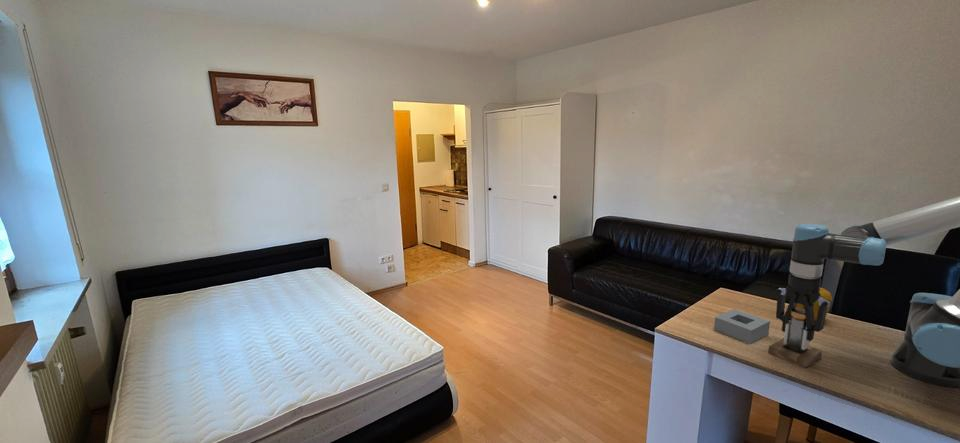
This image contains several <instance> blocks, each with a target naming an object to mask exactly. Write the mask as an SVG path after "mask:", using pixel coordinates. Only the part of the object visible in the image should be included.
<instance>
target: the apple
mask: <svg viewBox="0 0 960 443" xmlns="http://www.w3.org/2000/svg"><path fill="white" fill-rule="evenodd" d="M819 293H820V295H821V297H822V298H823V299H825V300H830V301H831V304H832V302H833V296H832V293H831V292H830V291H828V290H827V289H825V288H822V287H821V286H820V291H819ZM831 304H830V305H829V306H828V308H827V313H826V315H828V312H829V310H830V308H831ZM819 307H820V305H819V301H818V300H817V301H816V302H814V307H813V310H814V318H815V322H816V319H817V314H818V309H819ZM796 308H797V309H803V310H805V309H804V306H803V305H802V304H799V303H798V304H797V306H796Z"/></svg>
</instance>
